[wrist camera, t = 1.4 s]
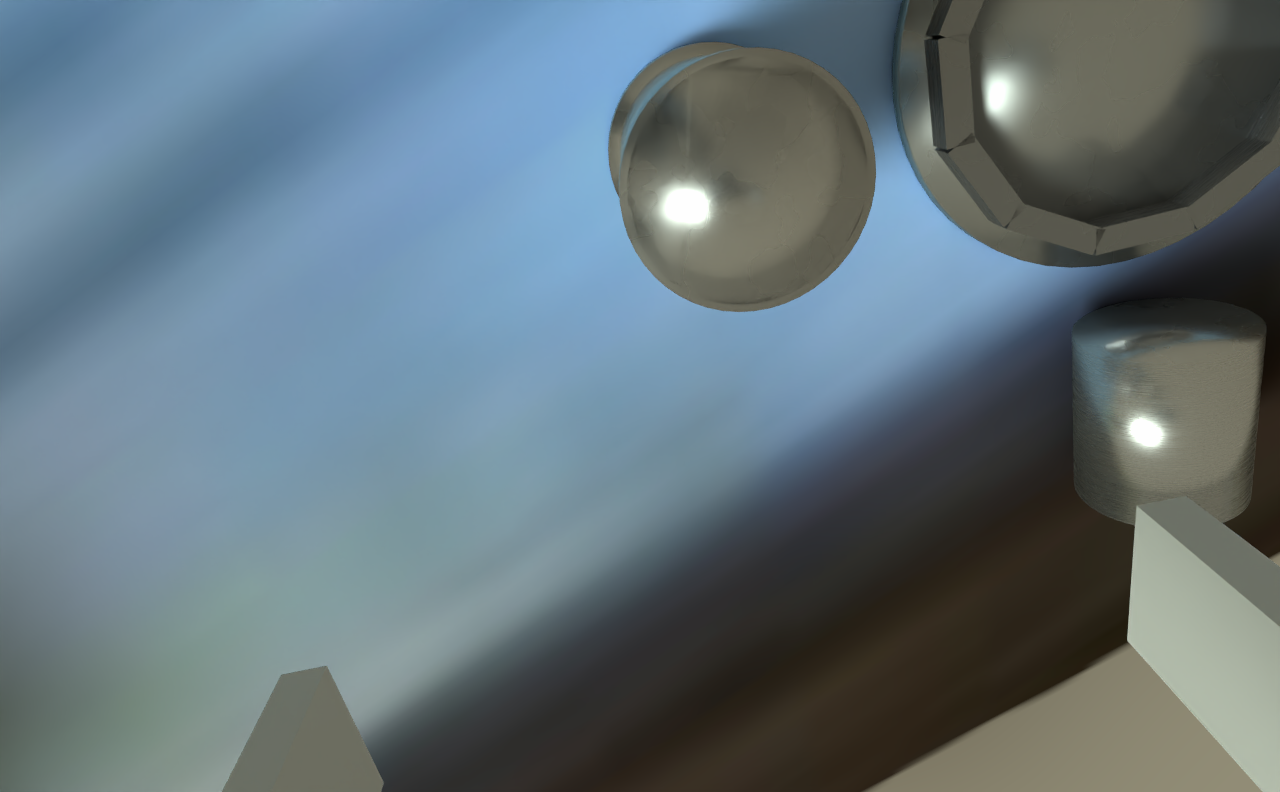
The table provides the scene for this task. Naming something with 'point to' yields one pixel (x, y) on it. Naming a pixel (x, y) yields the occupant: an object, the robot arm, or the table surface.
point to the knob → (740, 173)
